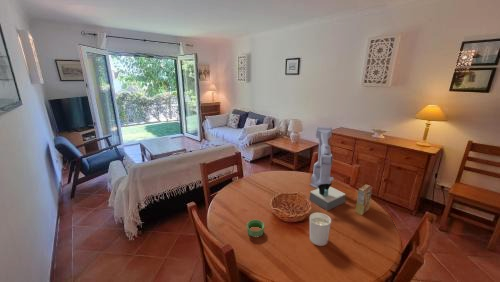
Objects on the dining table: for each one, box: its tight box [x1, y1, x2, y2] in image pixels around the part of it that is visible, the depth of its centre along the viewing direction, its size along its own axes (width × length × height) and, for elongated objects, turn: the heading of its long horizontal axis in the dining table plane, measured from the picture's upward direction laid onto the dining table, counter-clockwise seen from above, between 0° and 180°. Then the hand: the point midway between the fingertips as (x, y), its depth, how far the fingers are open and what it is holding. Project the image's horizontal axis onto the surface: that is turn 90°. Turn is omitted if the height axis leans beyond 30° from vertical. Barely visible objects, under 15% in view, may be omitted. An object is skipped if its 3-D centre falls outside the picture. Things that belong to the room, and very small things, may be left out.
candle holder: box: [309, 212, 332, 247], centre depth 103 cm, size 10×10×12 cm
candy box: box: [355, 183, 373, 216], centre depth 124 cm, size 9×4×15 cm, turn 129°
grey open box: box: [309, 192, 346, 212], centre depth 136 cm, size 14×16×5 cm
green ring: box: [246, 219, 265, 238], centre depth 110 cm, size 9×9×4 cm
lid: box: [309, 185, 347, 203], centre depth 135 cm, size 14×16×4 cm
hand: (323, 193), depth 133 cm, fingers closed on lid, 2 cm apart
